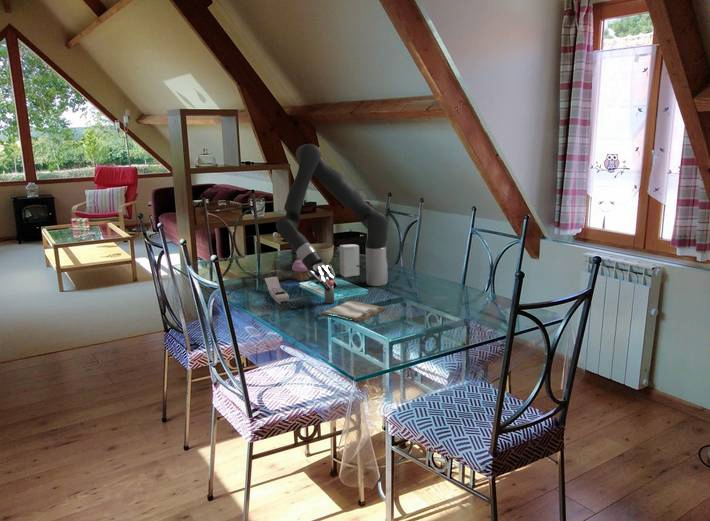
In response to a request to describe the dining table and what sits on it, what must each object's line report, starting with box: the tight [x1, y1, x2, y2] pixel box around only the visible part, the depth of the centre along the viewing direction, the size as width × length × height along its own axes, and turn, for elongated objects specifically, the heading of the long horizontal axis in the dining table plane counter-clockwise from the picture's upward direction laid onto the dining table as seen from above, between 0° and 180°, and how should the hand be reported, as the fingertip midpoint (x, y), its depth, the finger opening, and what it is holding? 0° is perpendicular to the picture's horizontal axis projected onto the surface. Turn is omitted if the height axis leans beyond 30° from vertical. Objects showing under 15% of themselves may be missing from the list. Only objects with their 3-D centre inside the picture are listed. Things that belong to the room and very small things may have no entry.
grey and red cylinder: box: [323, 279, 335, 304], centre depth 243 cm, size 4×4×9 cm
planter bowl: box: [310, 243, 335, 266], centre depth 304 cm, size 16×16×11 cm
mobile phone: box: [264, 276, 290, 305], centre depth 255 cm, size 6×6×25 cm
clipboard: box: [321, 300, 387, 323], centre depth 231 cm, size 18×18×2 cm
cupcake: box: [291, 259, 310, 282], centre depth 279 cm, size 9×9×10 cm
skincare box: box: [339, 243, 360, 278], centre depth 285 cm, size 8×6×15 cm
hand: (332, 288), depth 241 cm, fingers closed on grey and red cylinder, 4 cm apart
